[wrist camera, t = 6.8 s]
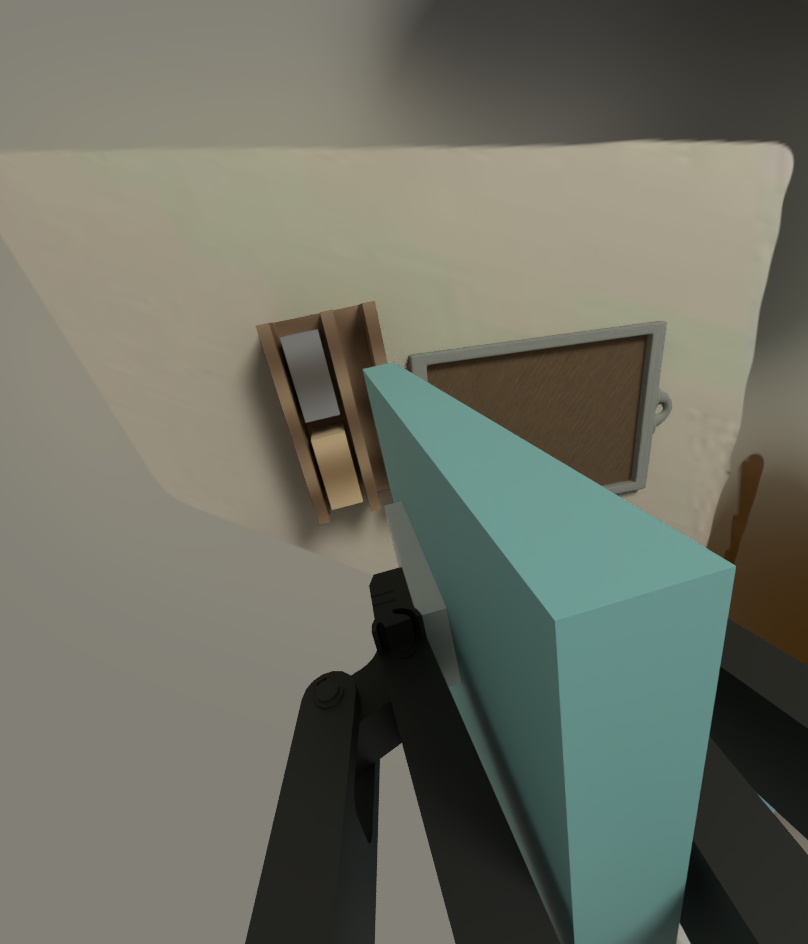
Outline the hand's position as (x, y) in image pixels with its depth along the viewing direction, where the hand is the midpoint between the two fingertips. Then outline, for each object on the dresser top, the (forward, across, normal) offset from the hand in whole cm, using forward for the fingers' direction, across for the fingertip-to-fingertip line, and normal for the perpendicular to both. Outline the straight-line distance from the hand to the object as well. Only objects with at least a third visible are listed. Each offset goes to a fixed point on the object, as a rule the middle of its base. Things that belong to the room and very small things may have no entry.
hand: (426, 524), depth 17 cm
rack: (+25, +3, 0) cm, 25 cm away
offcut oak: (+24, +4, +4) cm, 24 cm away
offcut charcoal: (+24, +4, -5) cm, 24 cm away
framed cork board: (+26, -19, +7) cm, 33 cm away
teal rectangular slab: (+6, 0, 0) cm, 6 cm away
